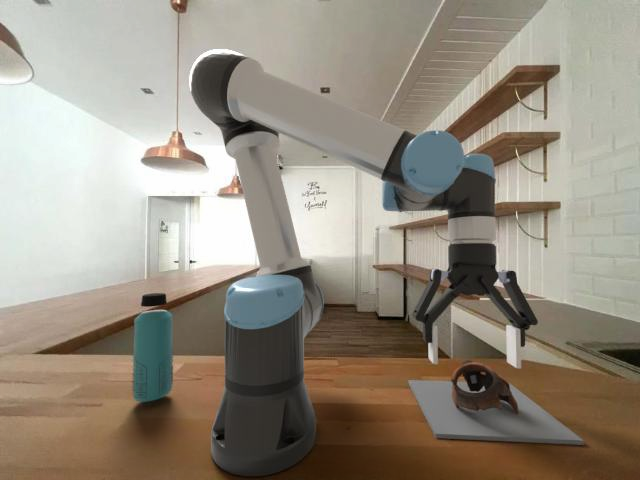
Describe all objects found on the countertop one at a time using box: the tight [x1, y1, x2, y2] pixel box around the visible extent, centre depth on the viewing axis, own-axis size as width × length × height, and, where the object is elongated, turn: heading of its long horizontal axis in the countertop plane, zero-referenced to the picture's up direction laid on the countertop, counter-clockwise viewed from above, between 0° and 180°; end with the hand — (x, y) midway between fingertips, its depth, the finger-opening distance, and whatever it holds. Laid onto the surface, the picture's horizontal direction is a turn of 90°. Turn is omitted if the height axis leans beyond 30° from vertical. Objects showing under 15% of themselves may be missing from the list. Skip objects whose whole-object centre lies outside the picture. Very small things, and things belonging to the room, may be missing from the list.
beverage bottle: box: [131, 292, 174, 403], centre depth 51 cm, size 6×7×20 cm
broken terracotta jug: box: [450, 359, 518, 414], centre depth 47 cm, size 12×10×8 cm
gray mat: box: [407, 379, 585, 446], centre depth 47 cm, size 20×17×1 cm
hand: (472, 363), depth 47 cm, fingers open, 13 cm apart
